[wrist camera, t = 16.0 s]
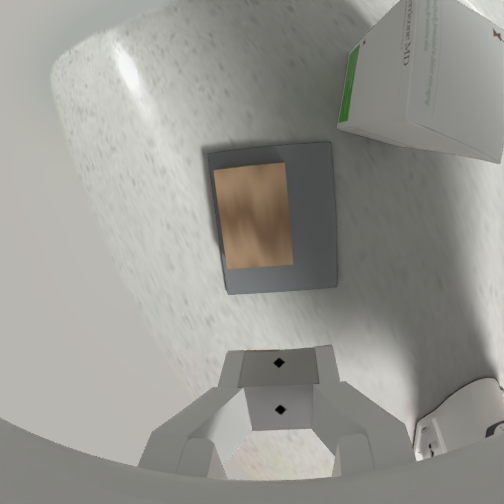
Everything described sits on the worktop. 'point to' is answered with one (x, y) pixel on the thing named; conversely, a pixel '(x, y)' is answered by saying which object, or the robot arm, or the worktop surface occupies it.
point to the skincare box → (429, 81)
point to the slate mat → (291, 219)
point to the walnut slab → (254, 215)
